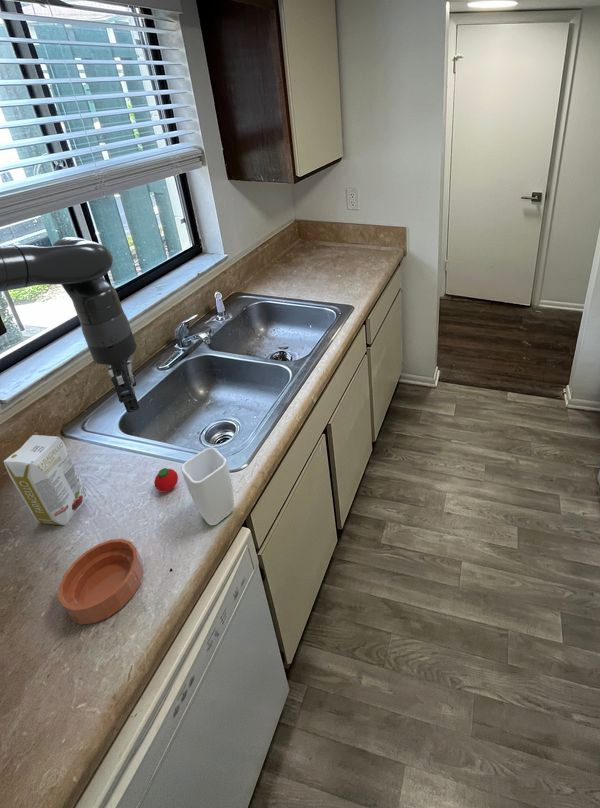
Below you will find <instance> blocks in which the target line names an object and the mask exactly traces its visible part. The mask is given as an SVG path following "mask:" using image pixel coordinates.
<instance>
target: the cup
mask: <svg viewBox="0 0 600 808" xmlns="http://www.w3.org/2000/svg"><path fill="white" fill-rule="evenodd" d="M229 469H230V468H229V465H228V461H227V459H226V457H225V456H224V455H222V454H221V452H220V451H219V450H218V449H217V448H215V447H212V446H211V447H207V448H205V449H203V450H201V451H200V452H198V453H196V454H195V455H194V456H192V457H191V458H189V459H187V460H186V461H185V462H184V463H182V465H181V467H180V470H181V473H182V476H183V479H184V482H185V486H186V488H187V490H188V492H189V494H190V497H191V499H192V501H193V503H194V505H195V507H196V509H197V510H198V512H199V514H200V516H201V517H202V518H203V519H204V521H205V522H206V523H207V524H208V525H209V526H216V525H218V524H219V523H220V522H221V521H222V520H224V519H225V518H227V517H228V516H229V515H230V514H232V513H233V512H234V510H235V497H234V496H235V495H234V488H233V487H234V486H233V482H232V477H231V473H230V470H229Z"/></svg>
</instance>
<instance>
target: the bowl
mask: <svg viewBox="0 0 600 808" xmlns="http://www.w3.org/2000/svg"><path fill="white" fill-rule="evenodd" d="M144 572H145V571H144V562H143V560H142V558H141V555H140V554H139V551H138V549H137V547H136V546H135V545H134V544H133V542H132V541H130V540H126V539H124V538H115V539H109V540H107V541H103V542H100V543H98V544H96V545H94V546H93V547H91V548H89V549H87V550H86V551H84V552H83V554H81V555H80V556H79V557H78V558H77V559H76V560H75V561H73V562H72V564H71V565H70V566H69V568H68V569H67V570H66V571H65V573H64V574H63V575H62V579H61V581H60V584H59V586H58V595H57V597H58V598H57V599H58V600H59V602H60V604H61V607H63V609H64V610H65V612H66V614H67V616H68V617H69V619H70V620H71V622H74V623H77V624H80V625H91V624H97V623H98V622H101V621H103V620H105V619H108V618H109V617H111V616H112V615H114V614H115V613H117V612H118V611H119V610H121V609H122V608H123V607H124V606H125V605H126V604H127V603H128V602H129V601H130V600H131V599H132V598H133V597H134V595H135V593H136V592H137V590H138V588H139V587H140V585H141V583H142V579H143V576H144Z"/></svg>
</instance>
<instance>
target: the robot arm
mask: <svg viewBox="0 0 600 808" xmlns="http://www.w3.org/2000/svg"><path fill="white" fill-rule="evenodd" d="M113 263H114V259H113V255H112V253H111V251H110V250H109V249H108V248H107V247H106V246H104V245H102V244H101V243H98V242H96V241H92V240H88V239H86V238H82V237H78V236H65V237H62V238H60V239H57V240H56V241H55V242H53V244H52V245H51V246H38V245H32V244H14V245H3V246H0V292H8V291H13V290H19V289H25V288H30V287H35V286H45V285H46V286H47V285H49V286H52V285H53V286H54V285H61V287H62V288H63V290H64V291H65V292H66V294H67V296H69V298H70V299H71V301H72V305H73V307H74V310H75V312H76V315H77V317H78V320H79V323H80V326H81V331H82V335H83V338H84V341H85V342H86V345H87V347H88V350H89V352H90V353H89V354H90V355H91V358H92V361H94V362H95V363H96V364H98V365H103V366H104V365H107V366H108V367H107V371H108V375H109V376H110V377H111V379H110V380H111V382H112V385H113V388H114V389H115V392H116V395H117V397H118V402H120V404H122V403H123V406H124V408H125V410H126V413H132V412H136V411H138V410H139V409H140V404H139V402H138V399H137V397H136V391H135V389H134V387H136V386H137V381H136V378H135V375H134V373H133V367H134V366H133V362H132V357H131V356H132V355H133V354H134V353H135V352H136V350H137V343H136V340H135V337H134V333H133V332H132V328H131V325H130V321H129V319H128V317H127V315H126V313H125V311H124V309H123V306H122V303H121V301H120V297H119V295H118V292H117V290H116V288H115V287H114V286H113V285H112V284H111V283H110V282H108V281H107V280H106V279H105V278H104V276H106V275H107V273H109V271H110V270H111V268H112V266H113Z"/></svg>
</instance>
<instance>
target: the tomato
mask: <svg viewBox="0 0 600 808" xmlns="http://www.w3.org/2000/svg"><path fill="white" fill-rule="evenodd" d="M178 480H179V475H178V473H177V471H175V470H174V469H172V468H167V467H164V468H161V469H160V470H159V471H158V473H157V474H156V476H155V477H154V481H153V483H154V484H153V485H154V488H155V489H156V490H157V491H158V492H162V493H166V492H167V493H168V492H169V491H171V490H173V489H174V488H175V487H176V485H178Z"/></svg>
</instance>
